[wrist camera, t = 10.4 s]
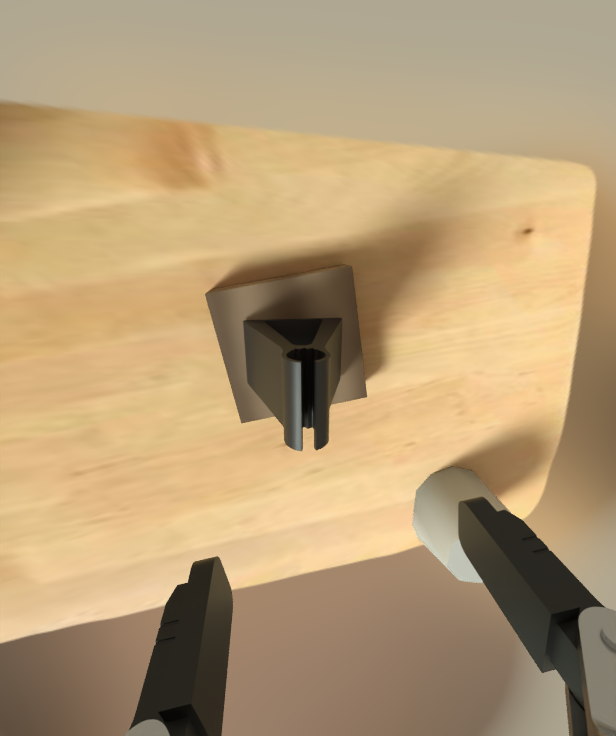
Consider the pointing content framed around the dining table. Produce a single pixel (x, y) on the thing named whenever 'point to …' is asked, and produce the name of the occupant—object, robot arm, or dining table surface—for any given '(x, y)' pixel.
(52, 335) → the dining table surface
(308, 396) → the phone stand
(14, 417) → the dining table surface
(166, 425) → the dining table surface
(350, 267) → the walnut block
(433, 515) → the toilet tissue
